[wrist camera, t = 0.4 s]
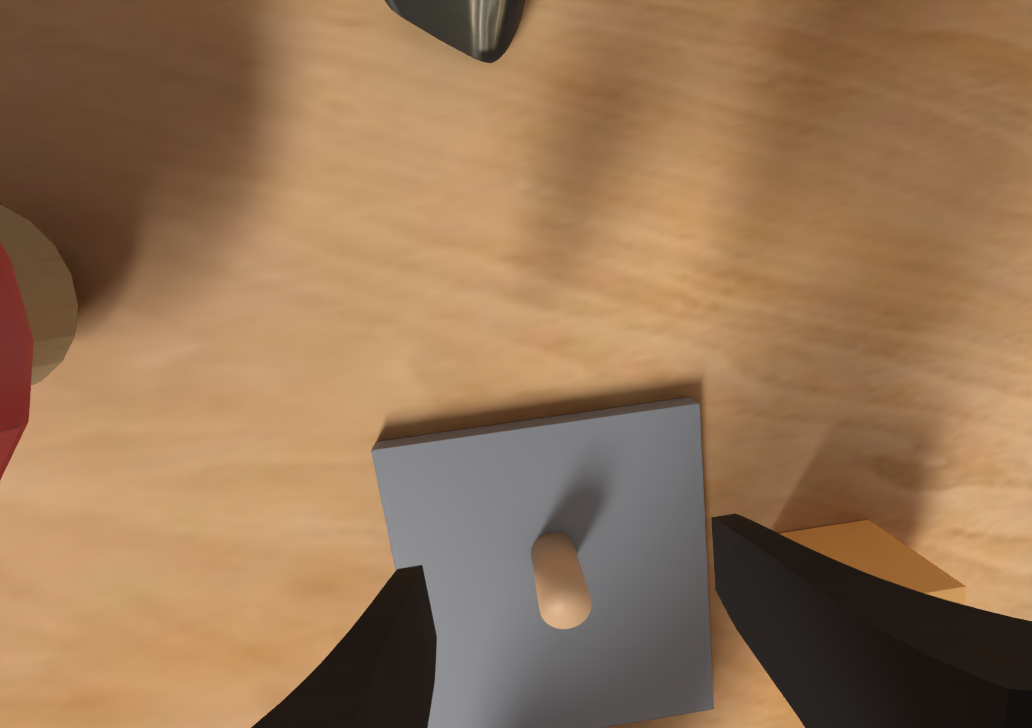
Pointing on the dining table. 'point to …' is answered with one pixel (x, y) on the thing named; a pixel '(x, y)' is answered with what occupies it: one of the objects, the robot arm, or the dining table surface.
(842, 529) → the mustard yellow cube
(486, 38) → the mobile phone
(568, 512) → the board
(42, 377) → the decorative mushroom
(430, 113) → the dining table surface
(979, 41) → the dining table surface
